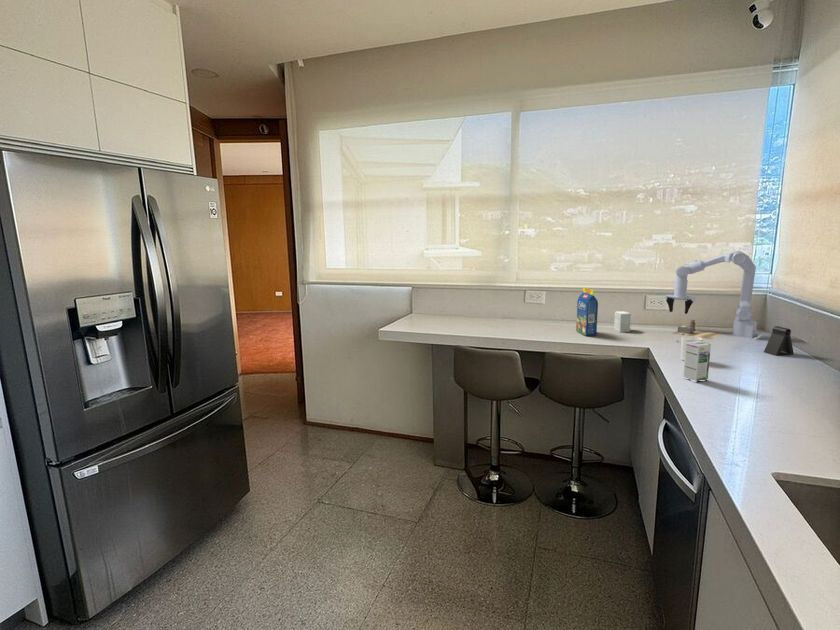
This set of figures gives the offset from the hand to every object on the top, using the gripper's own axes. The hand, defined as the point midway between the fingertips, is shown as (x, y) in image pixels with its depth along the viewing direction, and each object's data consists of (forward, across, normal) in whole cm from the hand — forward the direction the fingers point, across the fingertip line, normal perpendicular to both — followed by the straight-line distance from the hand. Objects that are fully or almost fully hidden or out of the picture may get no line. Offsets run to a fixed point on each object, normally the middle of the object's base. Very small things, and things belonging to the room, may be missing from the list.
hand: (678, 312), depth 240 cm
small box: (+11, +21, +20) cm, 31 cm away
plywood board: (+10, -11, +3) cm, 15 cm away
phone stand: (+11, -48, +14) cm, 51 cm away
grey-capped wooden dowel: (+9, -7, -2) cm, 12 cm away
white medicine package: (+11, -26, +53) cm, 60 cm away
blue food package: (+11, +31, +40) cm, 52 cm away
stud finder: (+9, -6, +5) cm, 12 cm away
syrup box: (+11, -37, +78) cm, 87 cm away
